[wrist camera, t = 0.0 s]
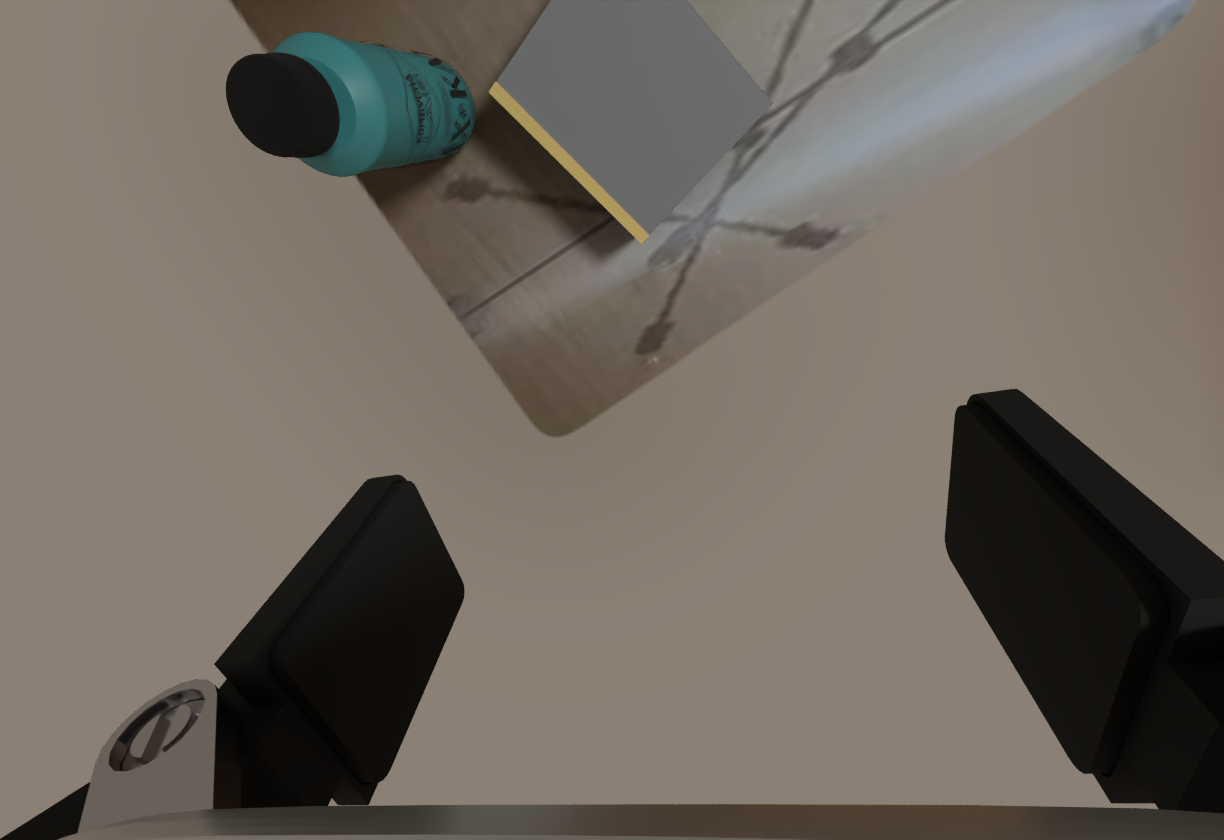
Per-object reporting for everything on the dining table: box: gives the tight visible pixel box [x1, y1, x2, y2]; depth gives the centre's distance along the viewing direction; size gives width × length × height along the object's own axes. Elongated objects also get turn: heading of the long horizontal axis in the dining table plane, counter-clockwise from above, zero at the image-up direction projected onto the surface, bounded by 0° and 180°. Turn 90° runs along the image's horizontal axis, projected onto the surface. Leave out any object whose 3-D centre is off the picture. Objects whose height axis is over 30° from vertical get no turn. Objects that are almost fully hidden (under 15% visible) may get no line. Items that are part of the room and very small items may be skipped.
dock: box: [489, 0, 773, 244], centre depth 37 cm, size 14×12×4 cm
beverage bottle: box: [226, 32, 475, 177], centre depth 32 cm, size 6×7×20 cm
